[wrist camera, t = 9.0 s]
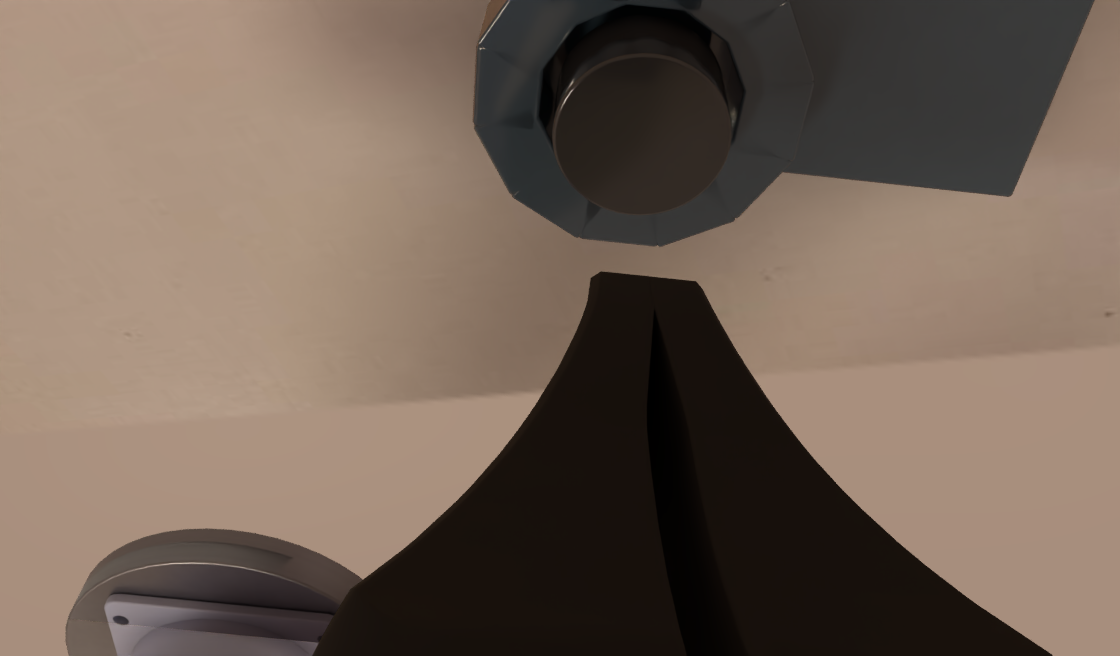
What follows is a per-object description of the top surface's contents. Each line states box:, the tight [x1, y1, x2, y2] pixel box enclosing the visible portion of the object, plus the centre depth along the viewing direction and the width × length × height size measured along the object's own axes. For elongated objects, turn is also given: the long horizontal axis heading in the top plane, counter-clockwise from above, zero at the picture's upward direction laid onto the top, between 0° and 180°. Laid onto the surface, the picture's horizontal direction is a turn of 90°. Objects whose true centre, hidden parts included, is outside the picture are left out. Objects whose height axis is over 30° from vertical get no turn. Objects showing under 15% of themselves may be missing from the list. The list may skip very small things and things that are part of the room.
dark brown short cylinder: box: [552, 15, 732, 215], centre depth 18 cm, size 3×3×2 cm
